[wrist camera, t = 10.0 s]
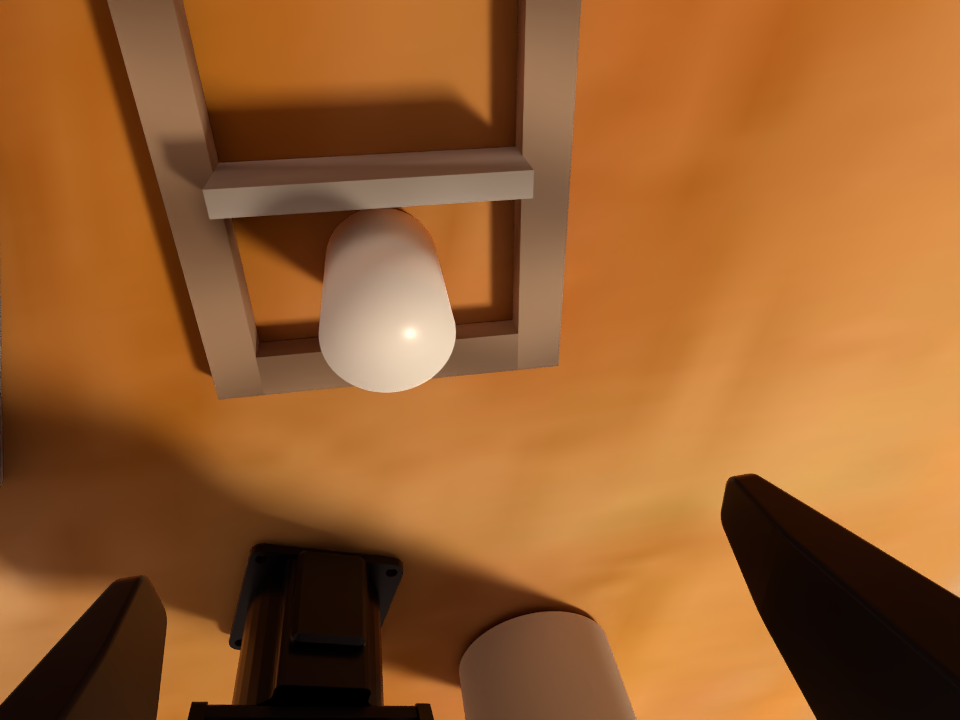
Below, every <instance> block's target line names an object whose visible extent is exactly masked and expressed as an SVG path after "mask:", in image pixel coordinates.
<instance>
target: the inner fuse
mask: <svg viewBox="0 0 960 720" xmlns="http://www.w3.org/2000/svg"><path fill="white" fill-rule="evenodd" d="M455 339H456V327H455V321H454V317H453V314H452V310H451V306H450V302H449V298H448V295H447V291H446V287H445V283H444V279H443V276H442V272H441V268H440V264H439V260H438V257H437V253H436V249H435V245H434V242H433V240H432V237H431V236H430V234H429V232H428V231H427V229H426V228H425V227H424V226H423V225H422V224H421V223H420V222H419V221H418V220H417V219H415V218H414V217H413V216H411V215H409V214H407V213H405V212H403V211H400V210H397V209H393V208H377V209H364V210H361V211H359V212H356V213H354V214H352V215H350V216H349V217H347V218H346V219H345V220H343V221H342V222H341V223H340V224H339V225H338V226H337V228H336V229H335V230H334V232H333V233H332V235H331V237H330V239H329V242H328V245H327V249H326V258H325V269H324V279H323V290H322V301H321V312H320V323H319V344H320V348H321V351H322V354H323V356H324V358H325V360H326V362H327V363H328V365H329V366H330V367H331V369H332V370H333V371H334V372H335V373H336V374H337V375H338V376H339V377H341V378H342V379H343V380H345V381H346V382H348V383H350V384H352V385H354V386H356V387H359V388H361V389H365V390H368V391H374V392H384V393H387V392H398V391H404V390H408V389H411V388H414V387H416V386H419V385H421V384H423V383H424V382H426V381H428V380H429V379H431V378H432V377H433V376H434V375H436V374H437V373H438V372H439V371H440V370H441V369H442V368H443V366H444V365H445V364H446V362H447V361H448V359H449V357H450V355H451V353H452V351H453V348H454V344H455Z"/></svg>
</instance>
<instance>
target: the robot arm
mask: <svg viewBox="0 0 960 720" xmlns="http://www.w3.org/2000/svg"><path fill="white" fill-rule="evenodd" d="M721 522H722V526H723V528H724V531H725V533H726V536H727V538H728V541H729V543H730V545H731V548H732V550H733V553H734V555H735V557H736V560H737V562H738V565H739V567H740V569H741V572H742V574H743V577H744V579H745V581H746V584H747V586H748V589H749V591H750V593H751V596H752V598H753V601H754V603H755V605H756V607H757V610H758V612H759V614H760V616H761V618H762V620H763V622H764V624H765V626H766V628H767V629H768V631H769V633H770V635H771V637H772V638H773V640H774V642H775V644H776V646H777V648H778V649H779V651H780V653H781V655H782V657H783V659H784V660H785V662H786V664H787V666H788V668H789V670H790V671H791V673H792V675H793V677H794V679H795V681H796V682H797V684H798V686H799V688H800V690H801V691H802V693H803V695H804V697H805V699H806V701H807V702H808V704H809V706H810V708H811V710H812V712H813V713H814V715H815V717H816V719H817V720H960V598H959V597H958V596H956V595H954V594H953V593H951V592H949V591H948V590H946V589H945V588H943V587H941V586H940V585H938V584H936V583H935V582H933V581H931V580H930V579H928V578H926V577H925V576H923V575H921V574H920V573H918V572H917V571H915V570H913V569H912V568H910V567H908V566H907V565H905V564H903V563H902V562H900V561H898V560H897V559H895V558H893V557H892V556H890V555H889V554H887V553H885V552H884V551H882V550H880V549H879V548H877V547H875V546H874V545H872V544H870V543H869V542H867V541H866V540H864V539H862V538H861V537H859V536H857V535H856V534H854V533H852V532H851V531H849V530H847V529H846V528H844V527H842V526H841V525H839V524H838V523H836V522H834V521H833V520H831V519H829V518H828V517H826V516H824V515H823V514H821V513H819V512H818V511H816V510H814V509H813V508H811V507H810V506H808V505H806V504H805V503H803V502H801V501H800V500H798V499H796V498H795V497H793V496H791V495H790V494H788V493H787V492H785V491H783V490H782V489H780V488H778V487H777V486H775V485H773V484H772V483H770V482H768V481H767V480H765V479H763V478H762V477H760V476H758V475H756V474H744V475H738V476H732V477H730V478H729V479H728V481H727V483H726V487H725V493H724V498H723V503H722V508H721ZM259 555H264V556H259ZM389 569H391V570H389ZM402 575H403V564H402V562H401V561H400V560H399V559H396V558H390V557H381V556H372V555H363V554H354V553H345V552H336V551H327V550H318V549H309V548H300V547H290V546H281V545H272V544H258V545H255V546H254V547H252V549H251V550H250V554H249V558H248V563H247V567H246V571H245V575H244V579H243V584H242V588H241V592H240V596H239V600H238V605H237V609H236V613H235V617H234V621H233V625H232V630H231V634H230V639H229V645H230V647H232V648H233V649H237V650H241V651H240V657H239V663H238V670H237V676H236V682H235V688H234V694H233V701H232V705H208V702H192V704H191V708H190V712H189V716H188V720H434V718H433V714H432V710H431V706H430V704H424V703H416V704H415V706H384V701H383V675H382V648H381V627H382V624H383V622H384V619H385V617H386V614H387V612H388V609H389V607H390V604H391V602H392V599H393V597H394V594H395V592H396V590H397V587H398V585H399V582H400V580H401V577H402ZM166 628H167V616H166V611H165V608H164V606H163V604H162V602H161V600H160V598H159V597H158V595H157V593H156V591H155V589H154V587H153V585H152V583H151V581H150V580H149V579H148V578H147V577H146V576H142V575H140V576H134V577H128V578H122V579H118V580H116V581H114V582H113V583H112V584H111V585H110V586H109V587H108V588H107V589H106V590H105V591H104V592H103V593H102V594H101V596H100V597H99V598H98V599H97V600H96V601H95V602H94V603H93V604H92V605H91V606H90V608H89V609H88V610H87V611H86V612H85V613H84V614H83V615H82V616H81V617H80V619H79V620H78V621H77V622H76V623H75V624H74V625H73V626H72V627H71V628H70V629H69V631H68V632H67V633H66V634H65V635H64V636H63V637H62V638H61V639H60V640H59V641H58V643H57V644H56V645H55V646H54V647H53V648H52V649H51V650H50V651H49V652H48V654H47V655H46V656H45V657H44V658H43V659H42V660H41V661H40V662H39V663H38V664H37V666H36V667H35V668H34V669H33V670H32V671H31V672H30V673H29V674H28V675H27V676H26V678H25V679H24V680H23V681H22V682H21V683H20V684H19V685H18V686H17V687H16V688H15V690H14V691H13V692H12V693H11V694H10V695H9V696H8V697H7V698H6V699H5V701H4V702H3V703H2V704H1V705H0V720H156V717H157V709H158V700H159V691H160V682H161V673H162V664H163V655H164V646H165V637H166Z"/></svg>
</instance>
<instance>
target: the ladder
mask: <svg viewBox="0 0 960 720" xmlns="http://www.w3.org/2000/svg"><path fill="white" fill-rule="evenodd" d="M107 2H108V5H109V9H110V13H111V16H112V20H113V23H114V27H115V31H116V34H117V38H118V41H119V45H120V48H121V52H122V56H123V59H124V63H125V66H126V70H127V73H128V77H129V81H130V84H131V88H132V91H133V95H134V98H135V102H136V106H137V109H138V113H139V116H140V120H141V124H142V127H143V131H144V134H145V138H146V141H147V145H148V149H149V152H150V156H151V159H152V163H153V166H154V170H155V174H156V177H157V181H158V184H159V188H160V191H161V195H162V199H163V202H164V206H165V209H166V213H167V216H168V220H169V224H170V227H171V231H172V234H173V238H174V242H175V245H176V249H177V252H178V256H179V259H180V263H181V267H182V270H183V274H184V277H185V281H186V284H187V288H188V292H189V295H190V299H191V302H192V306H193V309H194V313H195V317H196V320H197V324H198V327H199V331H200V334H201V338H202V342H203V345H204V349H205V352H206V356H207V360H208V363H209V367H210V370H211V374H212V377H213V381H214V385H215V388H216V392H217V395H218V399H229V398H239V397H249V396H259V395H269V394H280V393H290V392H300V391H310V390H320V389H330V388H340V387H350V386H354V385H352V384H350V383H348V382H346V381H345V380H343V379H342V378H341V377H339V376H338V375H337V374H336V373H335V372H334V371H333V370H332V369H331V367H330V366H329V365H328V363H327V362H326V360H325V358H324V356H323V354H322V351H321V348H320V344H319V337H314V338H303V339H292V340H280V341H269V342H259V338H258V334H257V329H256V325H255V320H254V316H253V311H252V307H251V303H250V298H249V294H248V289H247V285H246V280H245V276H244V272H243V267H242V263H241V258H240V254H239V249H238V245H237V240H236V236H235V232H234V227H233V223H232V218H239V217H254V216H269V215H285V214H300V213H315V212H331V211H346V210H361V209H377V208H392V207H407V206H422V205H438V204H453V203H468V202H484V201H499V200H514V199H515V209H514V267H513V320H505V321H494V322H482V323H471V324H460V325H455V327H456V339H455V344H454V348H453V351H452V353H451V355H450V357H449V359H448V361H447V362H446V364H445V365H444V366H443V368H442V369H441V370H440V371H439V372H438V373H437V374H436V375H434V376H433V377H432V378H441V377H451V376H461V375H471V374H481V373H491V372H502V371H512V370H522V369H532V368H542V367H552V366H558V363H559V347H560V331H561V315H562V299H563V283H564V267H565V252H566V236H567V220H568V204H569V188H570V172H571V156H572V140H573V124H574V109H575V93H576V77H577V61H578V45H579V29H580V13H581V0H518V36H517V94H516V146H515V147H497V148H479V149H461V150H442V151H424V152H406V153H388V154H370V155H351V156H333V157H315V158H297V159H278V160H260V161H242V162H224V163H219V160H218V156H217V152H216V147H215V143H214V138H213V134H212V129H211V125H210V121H209V116H208V112H207V107H206V103H205V98H204V94H203V89H202V85H201V81H200V76H199V72H198V67H197V63H196V58H195V54H194V49H193V45H192V41H191V36H190V32H189V27H188V23H187V18H186V14H185V10H184V5H183V1H182V0H107Z"/></svg>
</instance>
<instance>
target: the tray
mask: <svg viewBox="0 0 960 720" xmlns="http://www.w3.org/2000/svg"><path fill="white" fill-rule="evenodd" d="M2 483H3V448H2V374H1V300H0V486H1V484H2Z"/></svg>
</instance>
